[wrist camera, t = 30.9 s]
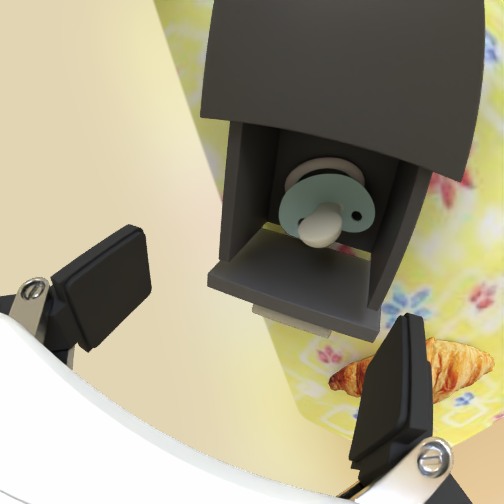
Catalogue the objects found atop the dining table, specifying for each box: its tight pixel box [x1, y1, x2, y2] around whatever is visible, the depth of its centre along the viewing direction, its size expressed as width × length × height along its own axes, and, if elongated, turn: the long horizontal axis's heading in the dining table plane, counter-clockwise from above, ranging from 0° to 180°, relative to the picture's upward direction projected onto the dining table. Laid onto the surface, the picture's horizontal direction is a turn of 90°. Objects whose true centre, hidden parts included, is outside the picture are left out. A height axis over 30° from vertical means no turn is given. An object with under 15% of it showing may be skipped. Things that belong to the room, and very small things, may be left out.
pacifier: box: [279, 157, 375, 248], centre depth 19 cm, size 7×6×6 cm
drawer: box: [207, 121, 433, 343], centre depth 20 cm, size 19×12×9 cm, turn 172°
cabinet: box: [200, 0, 485, 182], centre depth 12 cm, size 16×14×11 cm
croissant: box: [328, 338, 494, 404], centre depth 25 cm, size 21×10×8 cm, turn 111°
